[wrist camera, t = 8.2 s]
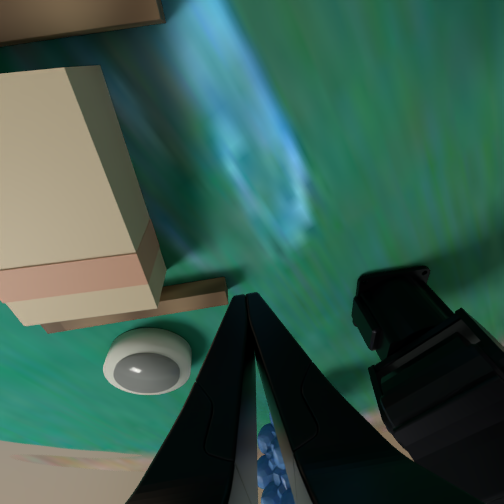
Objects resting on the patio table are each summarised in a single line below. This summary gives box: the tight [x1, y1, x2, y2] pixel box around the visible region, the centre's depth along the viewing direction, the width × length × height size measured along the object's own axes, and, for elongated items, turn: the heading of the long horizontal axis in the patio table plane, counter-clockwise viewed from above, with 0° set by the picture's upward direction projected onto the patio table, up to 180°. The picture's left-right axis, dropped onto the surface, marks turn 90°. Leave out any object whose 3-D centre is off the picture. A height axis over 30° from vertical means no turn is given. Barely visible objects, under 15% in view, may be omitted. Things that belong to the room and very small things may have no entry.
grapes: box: [257, 413, 295, 504], centre depth 32 cm, size 12×7×12 cm, turn 140°
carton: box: [0, 65, 167, 326], centre depth 17 cm, size 9×14×5 cm, turn 4°
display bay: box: [0, 0, 228, 334], centre depth 18 cm, size 15×20×2 cm
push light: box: [103, 328, 192, 395], centre depth 28 cm, size 8×8×2 cm
